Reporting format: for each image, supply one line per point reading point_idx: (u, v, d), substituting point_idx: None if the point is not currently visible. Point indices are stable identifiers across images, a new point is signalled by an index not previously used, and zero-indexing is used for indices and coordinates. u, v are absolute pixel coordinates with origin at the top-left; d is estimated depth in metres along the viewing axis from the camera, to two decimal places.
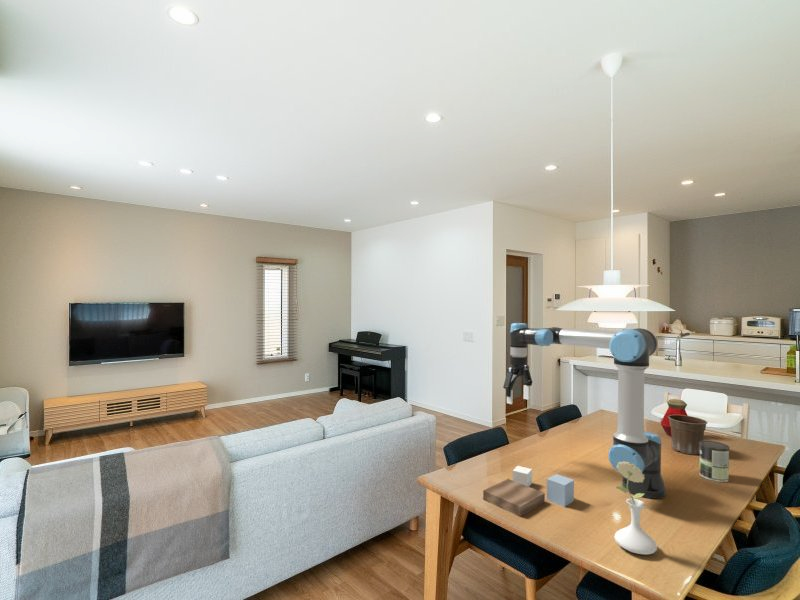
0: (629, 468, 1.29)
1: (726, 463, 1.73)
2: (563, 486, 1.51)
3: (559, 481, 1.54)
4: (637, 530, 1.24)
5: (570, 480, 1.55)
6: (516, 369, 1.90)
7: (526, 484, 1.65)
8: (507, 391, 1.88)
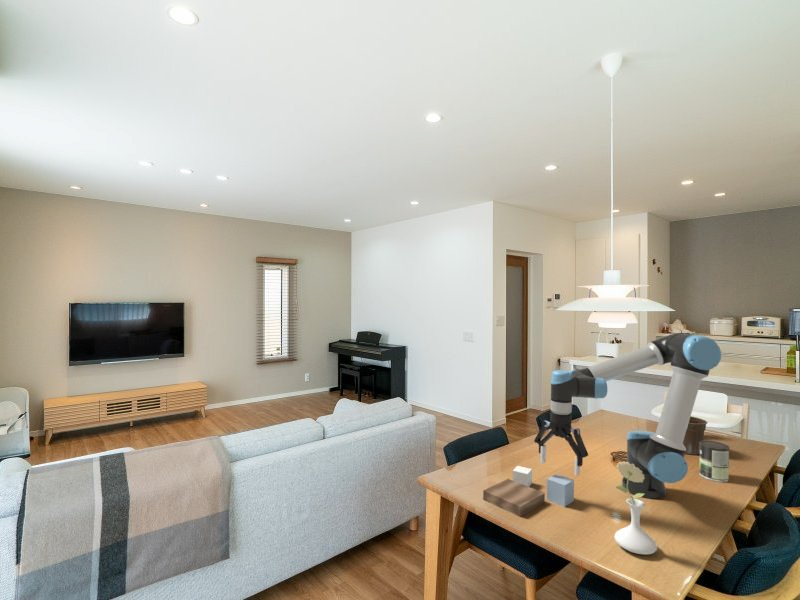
0: (629, 468, 1.29)
1: (726, 463, 1.73)
2: (563, 486, 1.51)
3: (559, 481, 1.54)
4: (637, 530, 1.24)
5: (570, 480, 1.55)
6: (551, 425, 1.57)
7: (526, 484, 1.65)
8: None
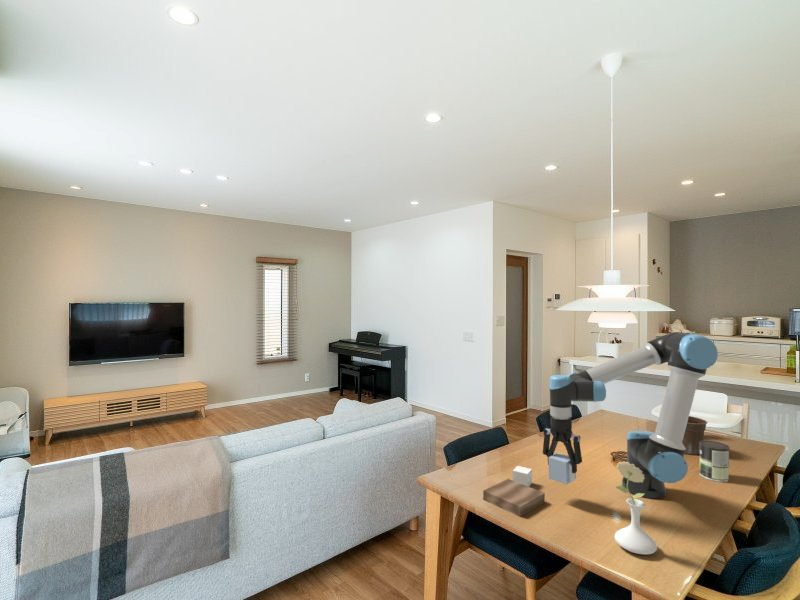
0: (629, 468, 1.29)
1: (726, 463, 1.73)
2: (564, 463, 1.51)
3: (561, 459, 1.54)
4: (637, 530, 1.24)
5: None
6: (552, 430, 1.57)
7: (526, 484, 1.65)
8: None
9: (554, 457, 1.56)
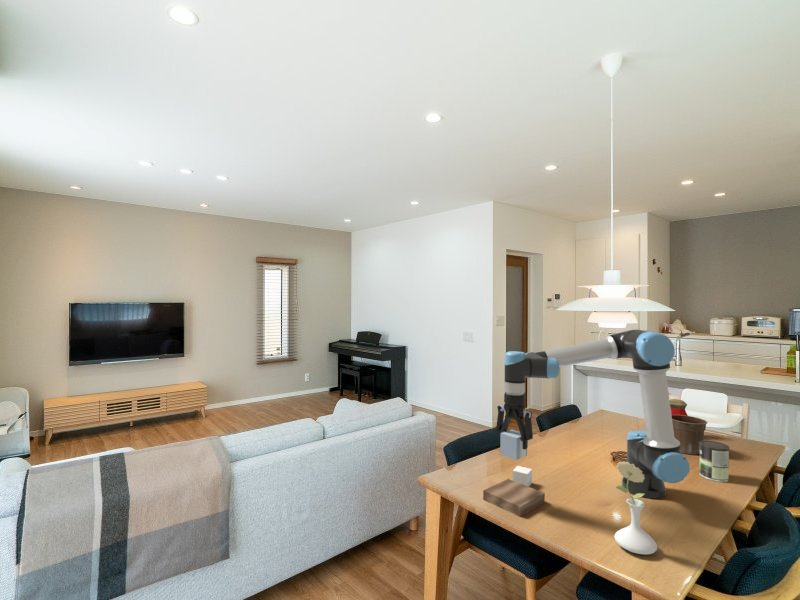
0: (629, 468, 1.29)
1: (726, 463, 1.73)
2: (515, 439, 1.50)
3: (512, 435, 1.53)
4: (637, 530, 1.24)
5: None
6: (505, 407, 1.56)
7: (526, 484, 1.65)
8: None
9: (506, 433, 1.55)
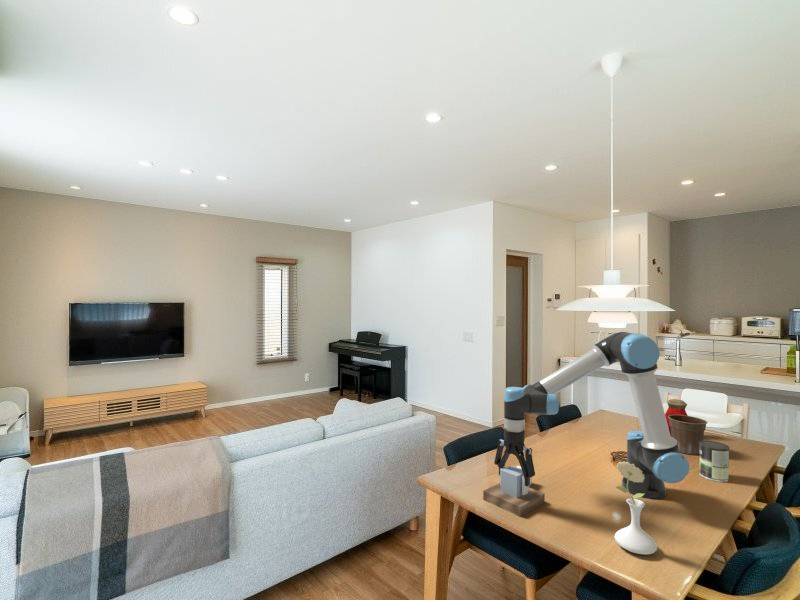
0: (629, 468, 1.29)
1: (726, 463, 1.73)
2: (515, 477, 1.50)
3: (512, 472, 1.53)
4: (637, 530, 1.24)
5: None
6: (505, 443, 1.56)
7: None
8: None
9: (506, 470, 1.55)
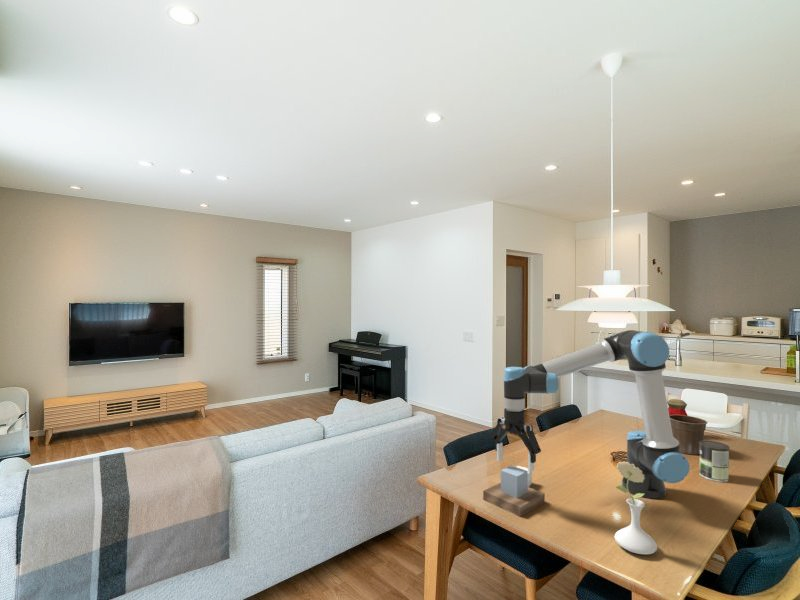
0: (629, 468, 1.29)
1: (726, 463, 1.73)
2: (515, 477, 1.50)
3: (512, 472, 1.53)
4: (637, 530, 1.24)
5: (523, 471, 1.54)
6: (505, 422, 1.56)
7: None
8: None
9: (506, 470, 1.55)
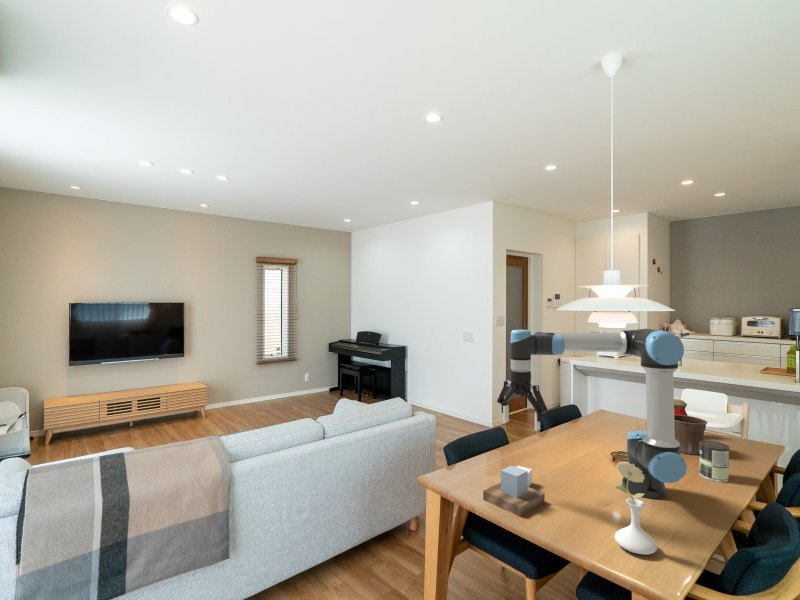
0: (629, 468, 1.29)
1: (726, 463, 1.73)
2: (515, 477, 1.50)
3: (512, 472, 1.53)
4: (637, 530, 1.24)
5: (524, 471, 1.54)
6: (512, 384, 1.59)
7: None
8: None
9: (506, 470, 1.55)
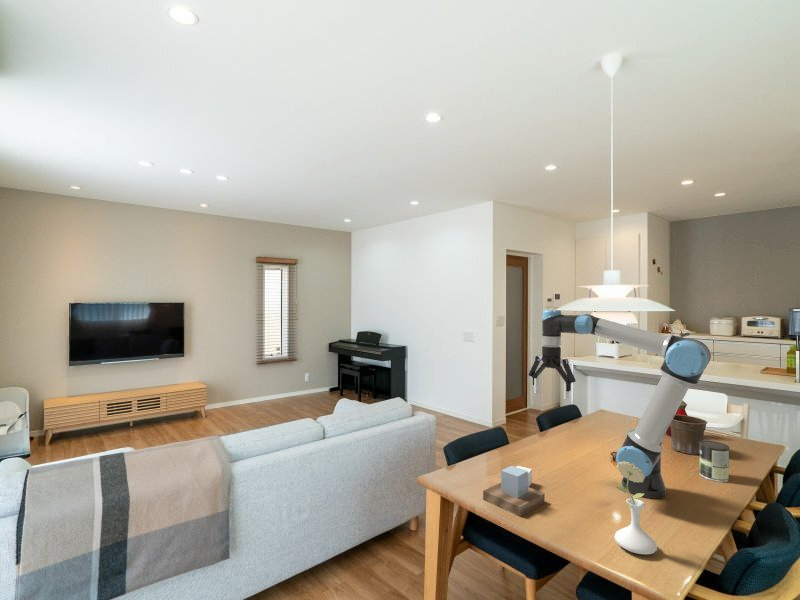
0: (629, 468, 1.29)
1: (726, 463, 1.73)
2: (516, 477, 1.50)
3: (513, 472, 1.53)
4: (637, 530, 1.24)
5: (524, 471, 1.54)
6: (543, 359, 1.77)
7: None
8: None
9: (507, 470, 1.54)
